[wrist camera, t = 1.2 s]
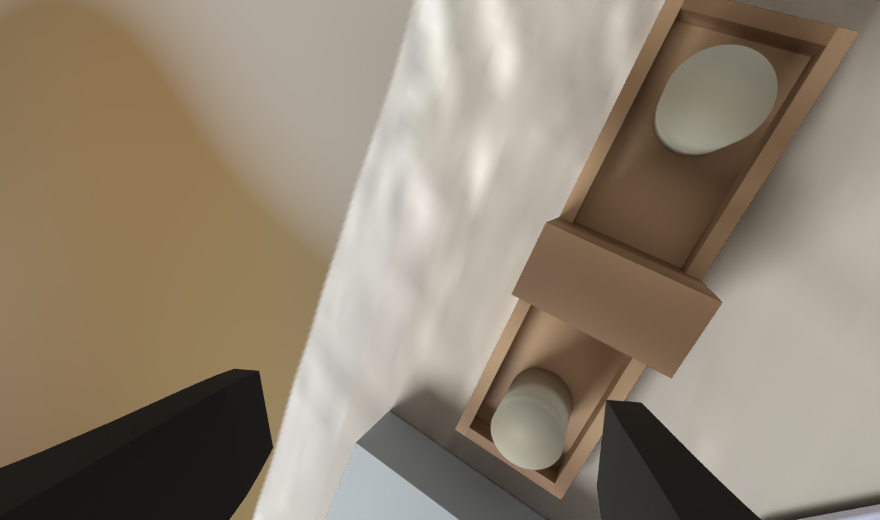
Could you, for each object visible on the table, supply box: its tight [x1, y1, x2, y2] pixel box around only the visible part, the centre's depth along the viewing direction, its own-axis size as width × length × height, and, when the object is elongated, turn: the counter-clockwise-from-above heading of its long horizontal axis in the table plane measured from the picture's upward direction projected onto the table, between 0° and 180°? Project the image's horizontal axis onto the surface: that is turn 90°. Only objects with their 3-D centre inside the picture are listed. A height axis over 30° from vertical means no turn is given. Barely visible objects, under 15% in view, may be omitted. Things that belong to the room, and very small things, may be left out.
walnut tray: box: [455, 0, 859, 500], centre depth 14 cm, size 18×5×5 cm, turn 156°
